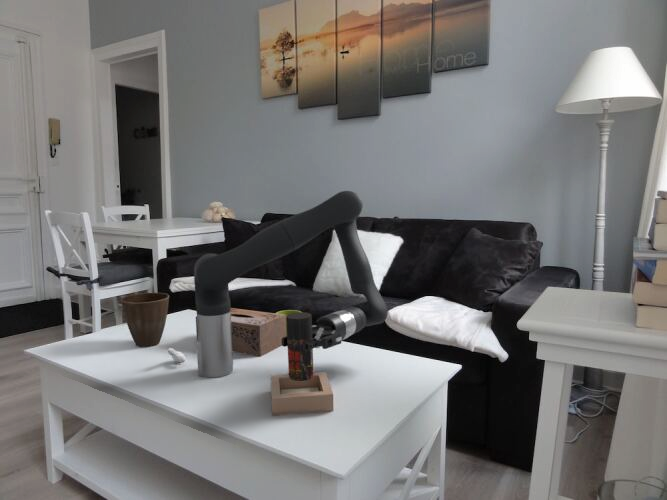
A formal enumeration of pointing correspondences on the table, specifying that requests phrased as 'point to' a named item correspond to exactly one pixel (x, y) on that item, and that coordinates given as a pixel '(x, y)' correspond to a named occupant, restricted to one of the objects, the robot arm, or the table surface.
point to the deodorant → (299, 346)
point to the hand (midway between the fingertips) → (293, 344)
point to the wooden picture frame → (301, 395)
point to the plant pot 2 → (287, 314)
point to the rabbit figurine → (176, 355)
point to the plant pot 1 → (146, 317)
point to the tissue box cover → (256, 331)
